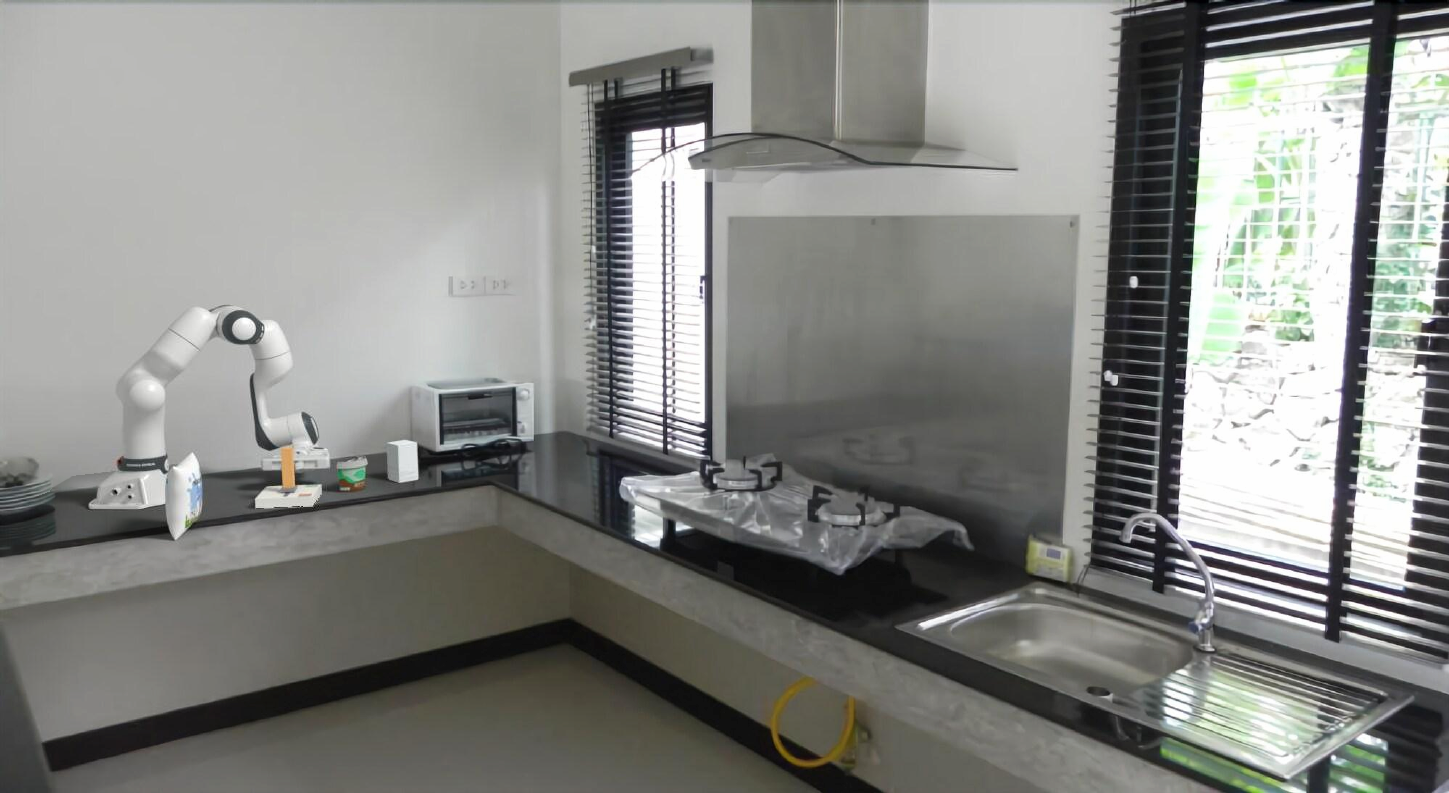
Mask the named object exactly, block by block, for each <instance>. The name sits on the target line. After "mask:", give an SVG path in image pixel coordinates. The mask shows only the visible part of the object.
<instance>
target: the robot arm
mask: <svg viewBox="0 0 1449 793" xmlns="http://www.w3.org/2000/svg"><path fill="white" fill-rule="evenodd" d="M216 338H220V339H222V340H223V341H224V342H228V343H230V344H233V345H239V346H240V345H241V346H244V345H248V346H249V349H250V350H251V353H252V357H253V360H254V367H255V369H254V372H253V373H252V374H250V377H249V392H250V393H249V394H250V400H251V407H252V415H253V416H252V417H253V422H254V423H253V424H254V438H255V442H256V443H257V446H258V447H259V448H260V449H262V450H265V451H268V452H271V451H274V450H277V449H278V450H279V449H281V448H282V447H289V446H291V447H293V457H294V474H302V473H306V472H310V471H314V470H328V469H330V467H331V455H330V453H329V449H328V448H326V447H320V445H319V443H318V441H319V438H320V434H319V428H318V425H317V423H316V420H315V419H314V418H313V416H312V415H310V414H308V413H307V412H306V411H301V412H294V413H291V414H288V415H283V416H278V417H275V418H271V417H269V414H268V412H269V411H268V406H267V399H266V393H267V392H268V391H269V390H270V389H271V388H272V387H274V386H276V385H277V384H279V383H280V382H282V381H283V380H284V379H285V378H287V377H288V376H289V375H290V374H291V372H292V370H293V367H294V359H293V355H292V351H291V347H290V344H289V342H288V340H287V337H286V336H285V334H284V331H283V330H282V328H281V326H280V325H279V323H278V322H277V321H275V320H273V319H265V318H264V319H258V318H257V317H256V316H255V315H254V314H253V313H251V312H249V311H247V310H245V309H243V308H242V307H239V306H235V305H230V304H224V305H219V306H217V307H214V308H211V309H209V310H208V309H206V308H204V307H201V306H192V307H189V308H188V309H186V310H185V311H184V312H182V313H181V315H179V316H178V317H177V318H176V319H175V320H174V321H173V322H171V324H170V325H169V326H168V328H167V329H165V331H164V332H163V333H162V334H161V335H160V337H159V338H158V339H157V340H156V341H155V342H154V344H153V345H152V346H151V347H150V348H149V349H148V350H147V351H146V352H145V353H144V354H143V355H142V356H141V357H140V358H139V359H137V360H136V362H134V363H133V364H132V365H131V366H130V367H129V368H128V369H127V370H126V371H125V372H124V373H123V374H122V375H121V376H120V377H119V379H118V380H117V382H116V385H115V394H116V396H117V398H118V400H119V401H120V402H121V403H122V426H121V427H122V428H121V436H122V439H121V440H122V450H123V451H122V452H123V455H121V456H120V457H119V459H116V461H115V466H117V467H116V468H117V470H115V472H113V473H112V474H110V475H109V476H107V478H106V479H104V480H103V481H102V482H101V483H100V484H99V485H98V487H97V490H96V491H97V492H96V498H94V499H93V500H91V501H90V502H89V503H88V508H89V510H141V509H146V508H150V507H155V506H161V505H165V484H166V478H167V474H168V472H169V470H170V465H169V458H168V454H167V453H166V440H165V439H166V438H165V437H166V436H165V417H166V389H165V388H166V387H167V386H169V384H170V383H171V382H173V380H175V379H176V378H177V377H178V376H179V375H181V374H183V372H184V371H185V370H186V369H187V368H188V367H189V366H190V365H191V363H192V362H193V361H194V359H195V358H196V357H197V356H198V355H199V354H200V352H202V350H203V349H204V347H205V346H206V345H207V344H208V343H209V342H210V341H211V340H213V339H216ZM260 468H261V471H264V472H265V471H268V472H269V471H282V461H281V454H275V455H272V454H271V455H267V456H265V457H263V458H261V459H260Z"/></svg>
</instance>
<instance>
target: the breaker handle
mask: <svg viewBox="0 0 1449 793" xmlns="http://www.w3.org/2000/svg"><path fill="white" fill-rule="evenodd" d="M280 455H281V461H282V470H281V477H282V480H281V481H282V486H283V487H282V488H281V489H280V492H295V491H296V489H297V488H298V485H299V484H295V483H296V481H295V480H296V479H295V477H296V476H295V472H294V457H293V447H292V446H284V447H281V448H280Z"/></svg>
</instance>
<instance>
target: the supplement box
mask: <svg viewBox="0 0 1449 793" xmlns="http://www.w3.org/2000/svg"><path fill="white" fill-rule="evenodd" d="M418 459H419V458H418V442H417V441H412V440H408V439H401V440H396V441H390V442H386V460H387V464H386V465H387V480H388V479H389V480H388V481H392V482H395V483H406V482H412V481H418V480H419V462H418V461H419V460H418Z"/></svg>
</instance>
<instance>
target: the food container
mask: <svg viewBox="0 0 1449 793" xmlns="http://www.w3.org/2000/svg"><path fill="white" fill-rule="evenodd" d="M368 464H369V462H368V459H367V457H366V455H362V454H356V457H354V458H352V459H350V458H349V459H347V460H345V461H337V462H336V469H337V473H338V474H337V475H338V482H339V483H338V484H339V492H349V493H356V492H355V491H357V492H360V491H359V490H361V491H364V490H365V489H364V488H366V466H367V465H368ZM363 489H364V490H363Z"/></svg>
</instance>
